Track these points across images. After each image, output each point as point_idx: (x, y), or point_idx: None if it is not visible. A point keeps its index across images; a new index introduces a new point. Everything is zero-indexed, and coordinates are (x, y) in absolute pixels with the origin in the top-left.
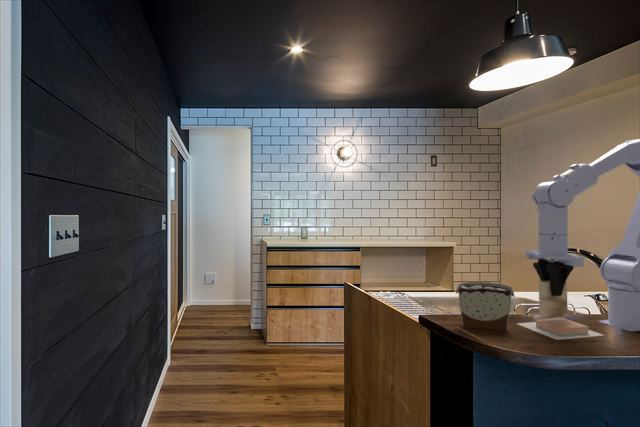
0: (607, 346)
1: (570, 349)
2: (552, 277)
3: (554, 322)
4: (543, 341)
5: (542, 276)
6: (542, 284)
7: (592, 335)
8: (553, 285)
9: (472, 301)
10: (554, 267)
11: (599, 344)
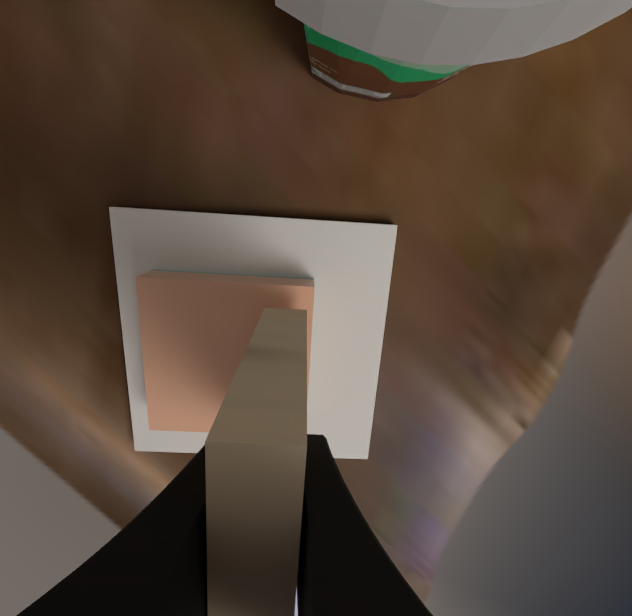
0: (38, 365)
1: (12, 181)
2: (95, 580)
3: (243, 338)
4: (138, 152)
5: (320, 568)
6: (242, 424)
7: (141, 407)
8: (161, 492)
9: None
10: None
11: (65, 358)
